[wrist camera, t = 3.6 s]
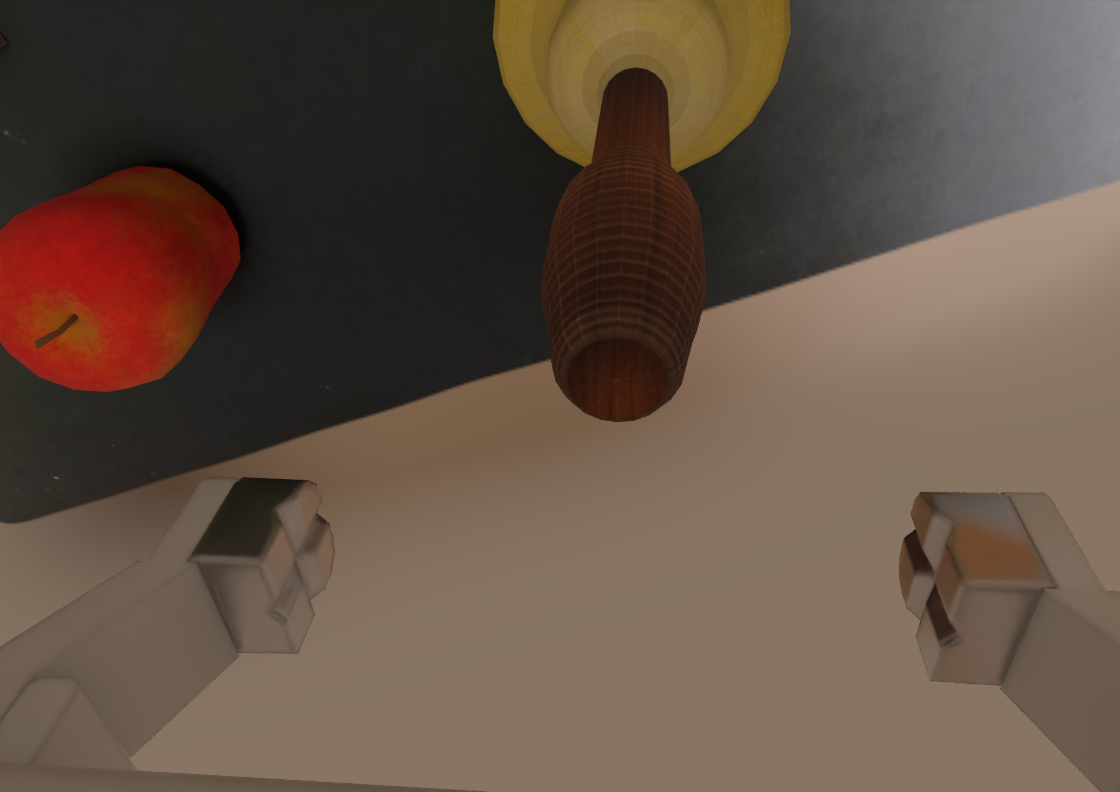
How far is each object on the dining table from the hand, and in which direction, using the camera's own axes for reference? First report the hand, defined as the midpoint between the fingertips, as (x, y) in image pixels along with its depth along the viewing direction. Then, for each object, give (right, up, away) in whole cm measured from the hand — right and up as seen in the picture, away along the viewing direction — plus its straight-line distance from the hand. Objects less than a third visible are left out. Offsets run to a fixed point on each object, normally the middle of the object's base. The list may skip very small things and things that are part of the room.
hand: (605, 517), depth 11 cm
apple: (-20, +11, +30) cm, 37 cm away
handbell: (+3, +17, +23) cm, 28 cm away
